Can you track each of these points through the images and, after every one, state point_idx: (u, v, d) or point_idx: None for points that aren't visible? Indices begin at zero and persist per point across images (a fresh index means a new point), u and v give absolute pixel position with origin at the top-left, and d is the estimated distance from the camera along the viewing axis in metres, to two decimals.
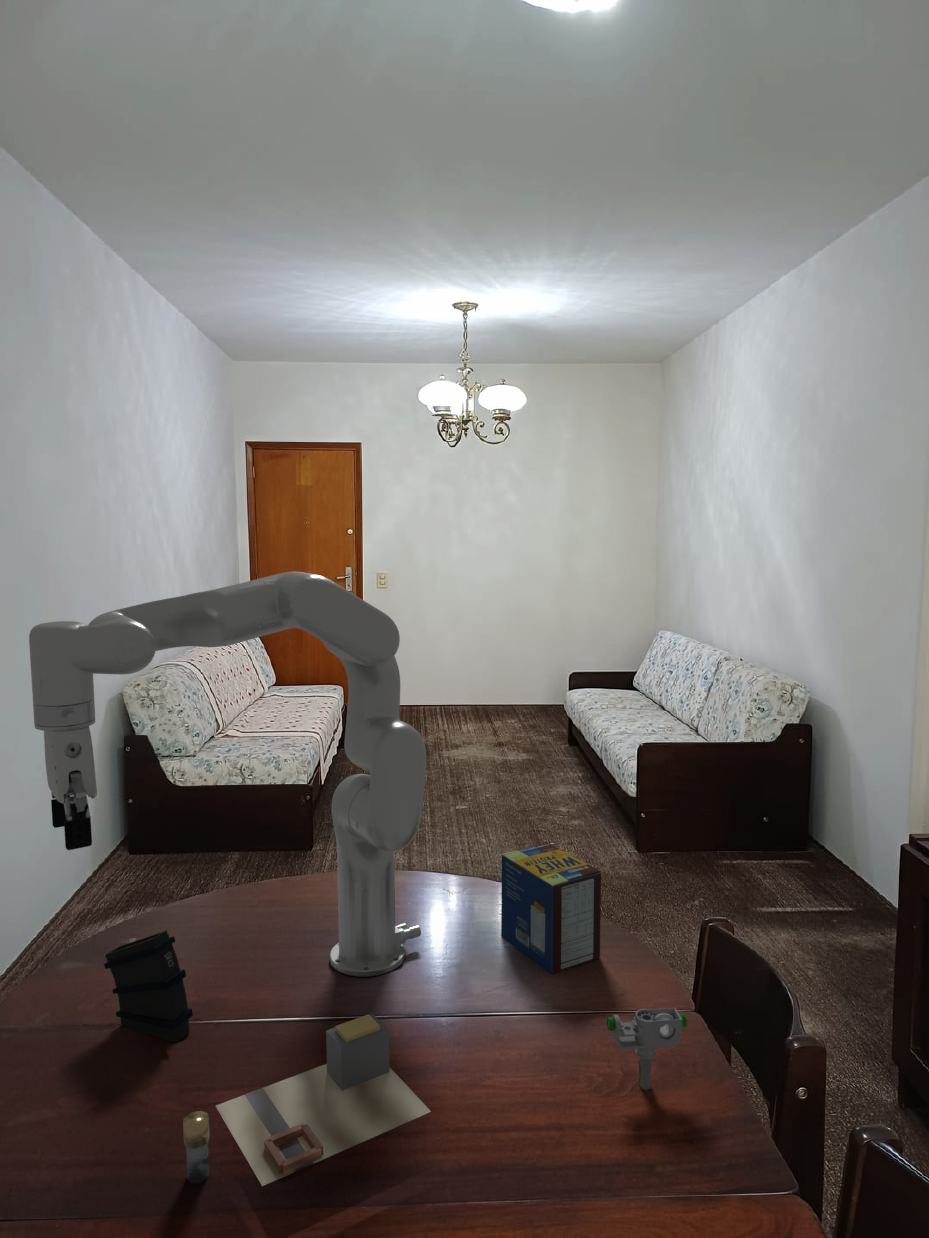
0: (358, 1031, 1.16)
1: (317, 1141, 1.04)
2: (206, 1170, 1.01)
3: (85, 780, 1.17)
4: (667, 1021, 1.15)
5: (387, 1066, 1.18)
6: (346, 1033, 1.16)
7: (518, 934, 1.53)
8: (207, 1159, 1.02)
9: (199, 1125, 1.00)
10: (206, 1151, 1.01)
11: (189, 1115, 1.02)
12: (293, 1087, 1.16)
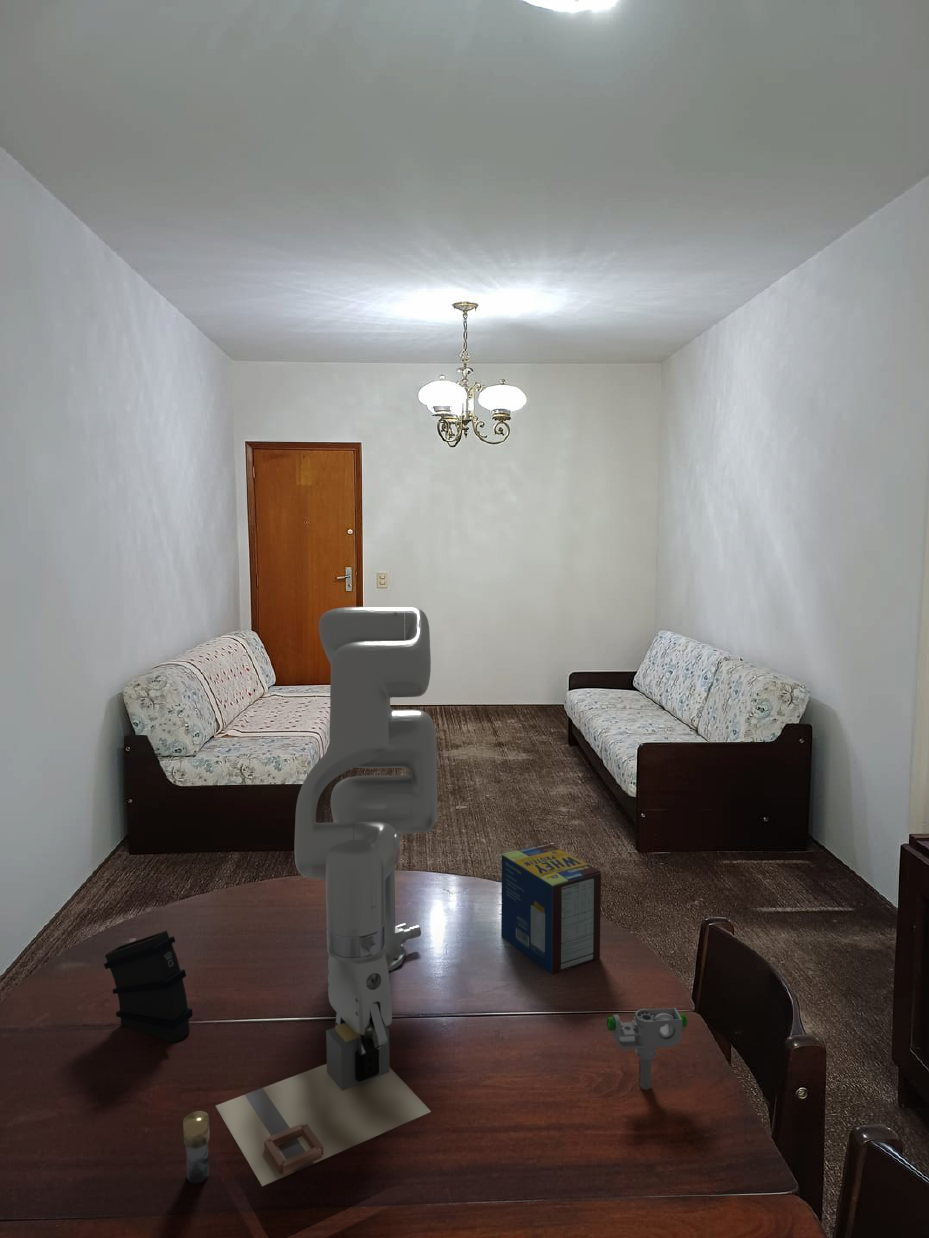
0: None
1: (317, 1141, 1.04)
2: (206, 1170, 1.01)
3: (384, 1010, 1.14)
4: (667, 1021, 1.15)
5: (387, 1066, 1.18)
6: (346, 1033, 1.16)
7: (518, 934, 1.53)
8: (207, 1159, 1.02)
9: (199, 1125, 1.00)
10: (206, 1151, 1.01)
11: (189, 1115, 1.02)
12: (293, 1087, 1.16)
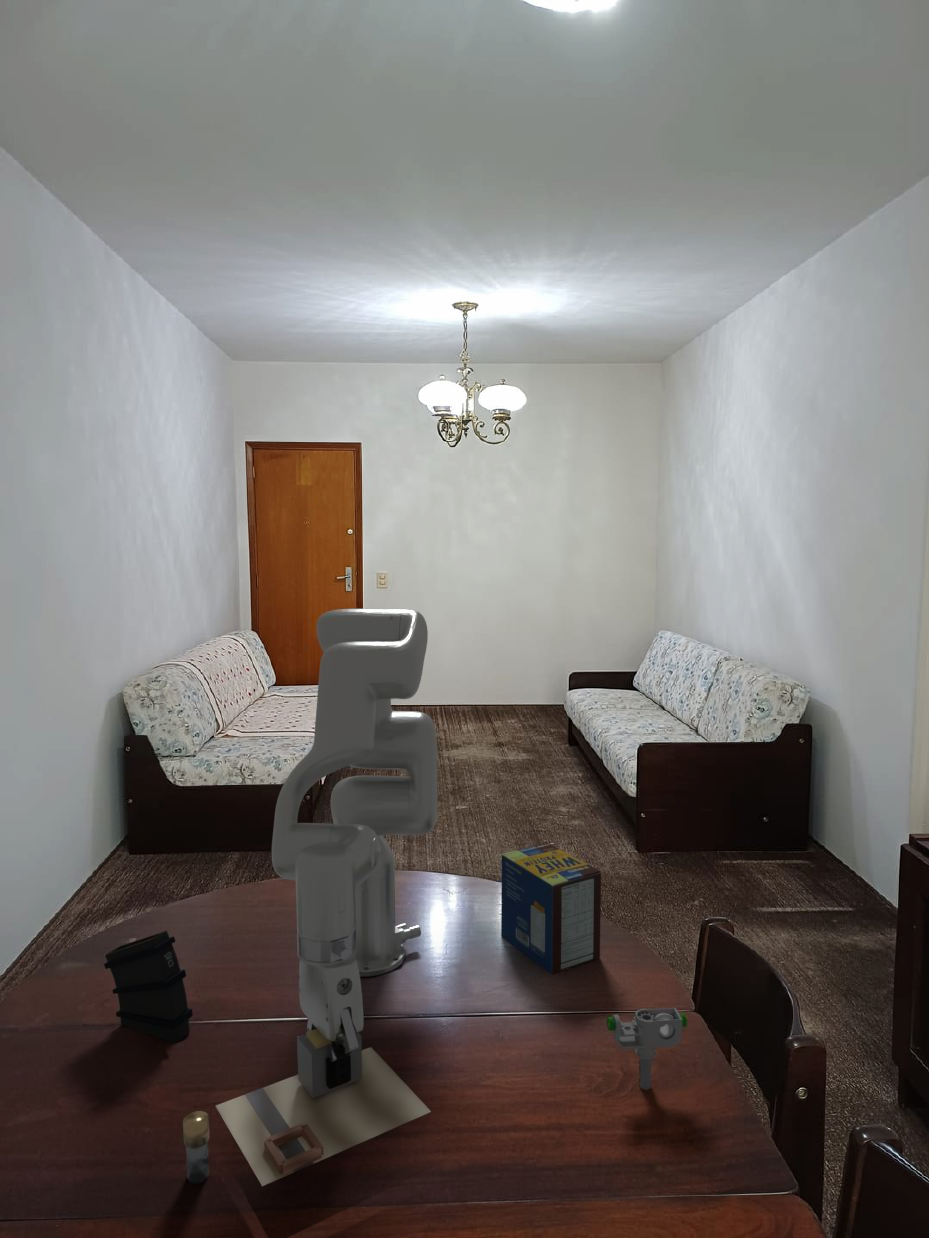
0: None
1: (317, 1141, 1.04)
2: (206, 1170, 1.01)
3: (355, 1016, 1.11)
4: (667, 1021, 1.15)
5: (359, 1073, 1.16)
6: (317, 1039, 1.14)
7: (518, 934, 1.53)
8: (207, 1159, 1.02)
9: (199, 1125, 1.00)
10: (206, 1151, 1.01)
11: (189, 1115, 1.02)
12: (293, 1087, 1.16)
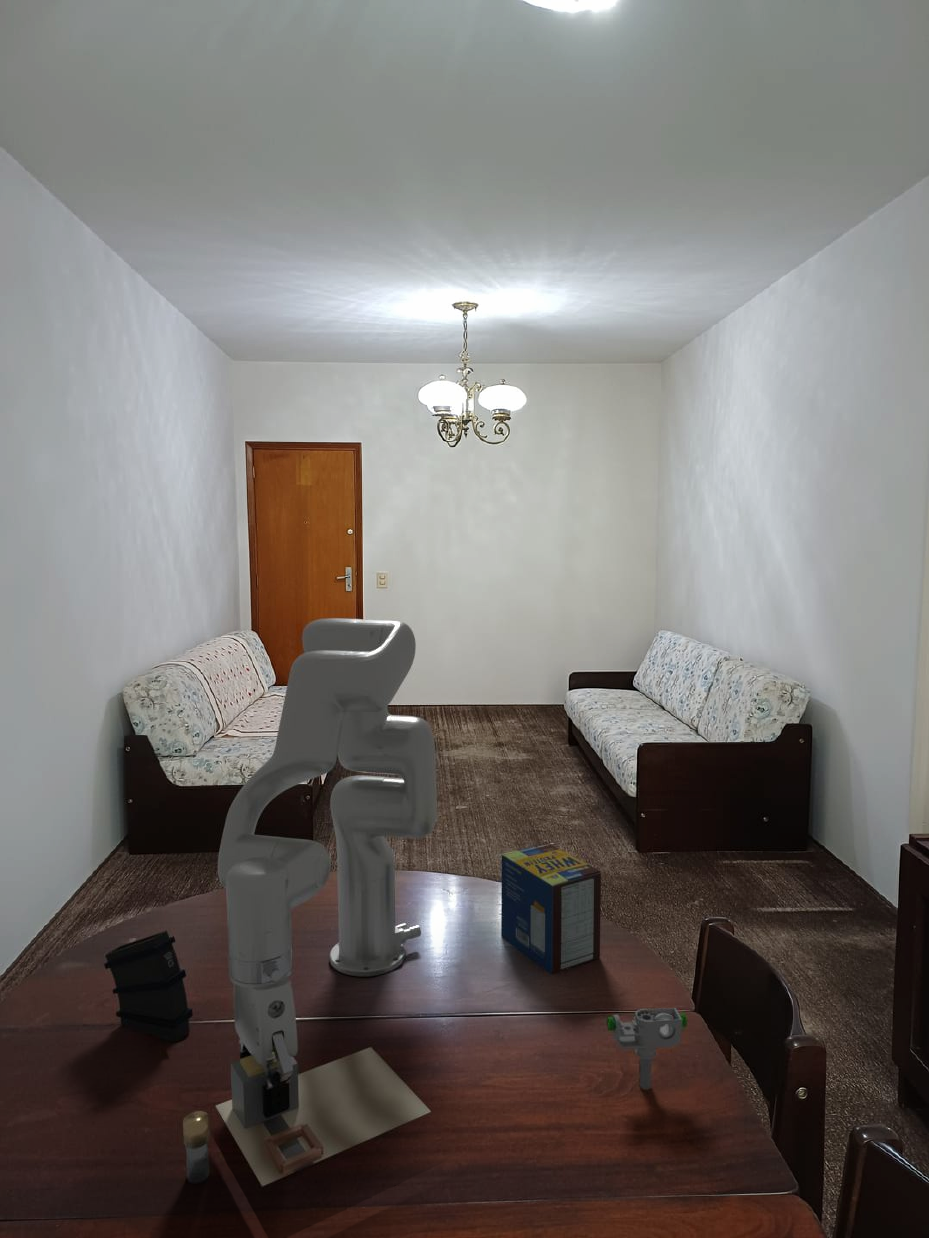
0: None
1: (317, 1141, 1.04)
2: (206, 1170, 1.01)
3: (288, 1040, 1.07)
4: (667, 1021, 1.15)
5: (296, 1102, 1.11)
6: (250, 1067, 1.09)
7: (518, 934, 1.53)
8: (207, 1159, 1.02)
9: (199, 1126, 1.00)
10: (206, 1151, 1.01)
11: (189, 1115, 1.02)
12: None
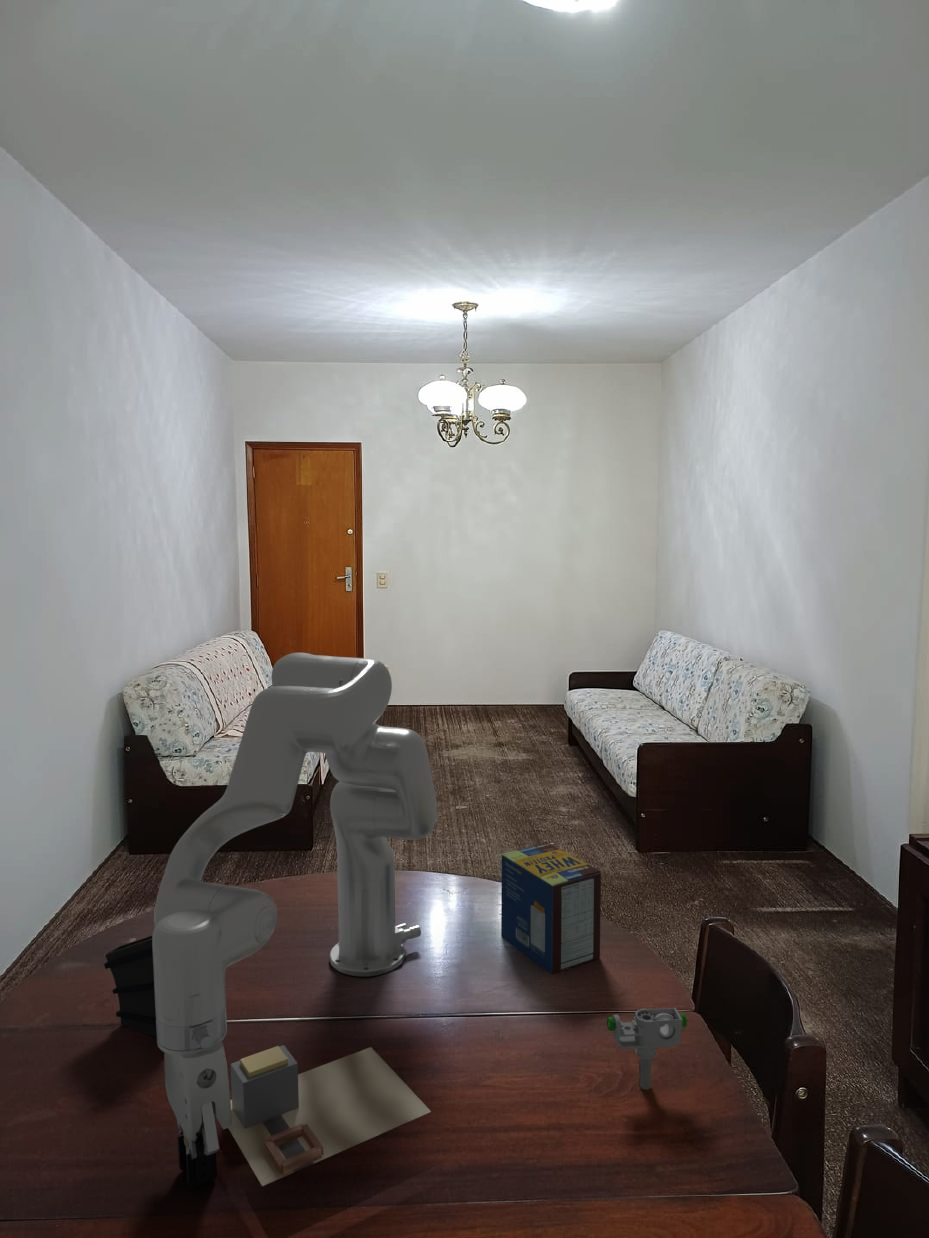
0: (263, 1065, 1.09)
1: (317, 1141, 1.04)
2: None
3: (220, 1112, 0.97)
4: (667, 1021, 1.15)
5: (296, 1102, 1.11)
6: (250, 1067, 1.09)
7: (518, 934, 1.53)
8: None
9: None
10: None
11: None
12: None
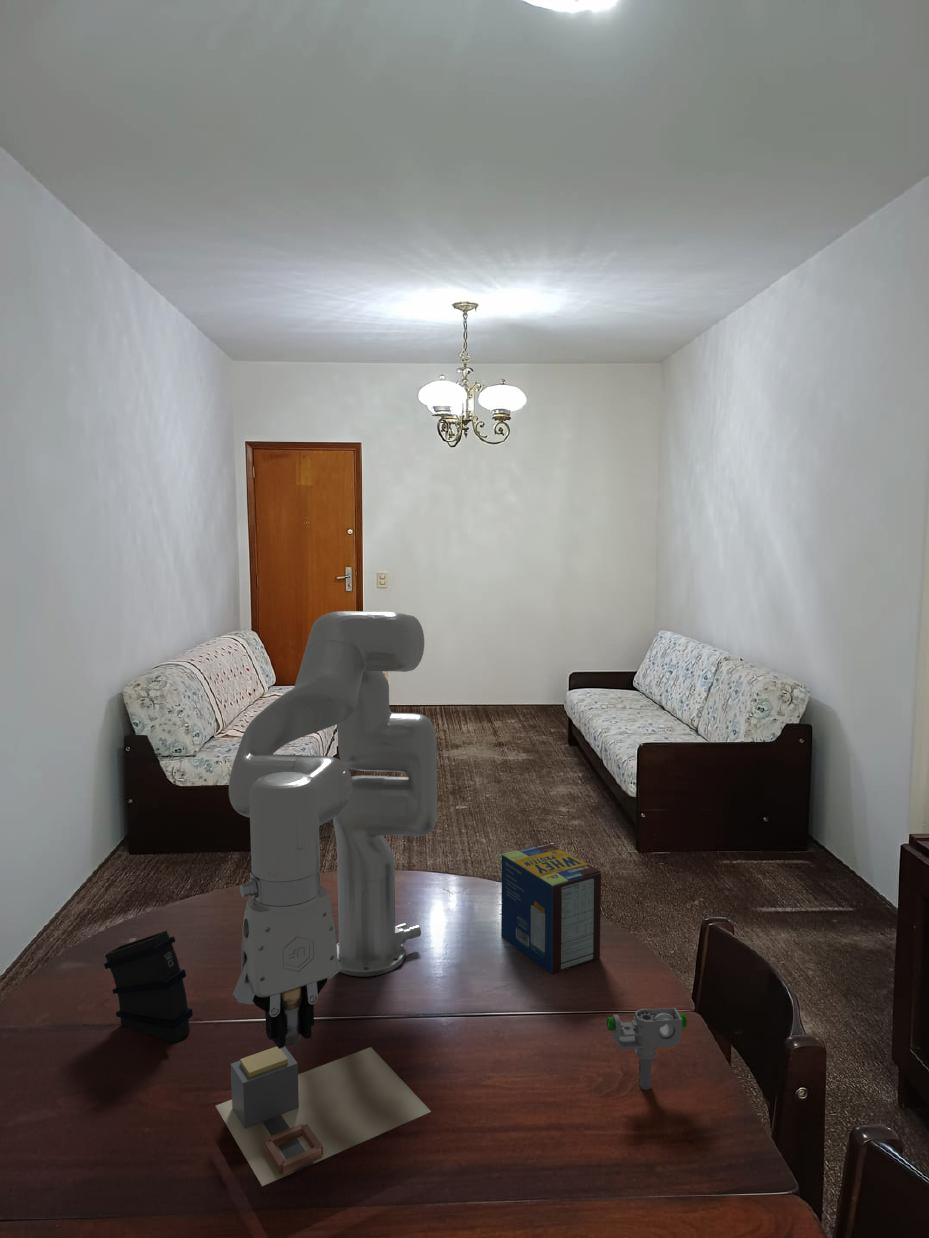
0: (263, 1065, 1.09)
1: (317, 1141, 1.04)
2: None
3: (248, 970, 0.97)
4: (667, 1021, 1.15)
5: (296, 1102, 1.11)
6: (250, 1067, 1.09)
7: (518, 934, 1.53)
8: (285, 1028, 1.01)
9: None
10: None
11: None
12: None
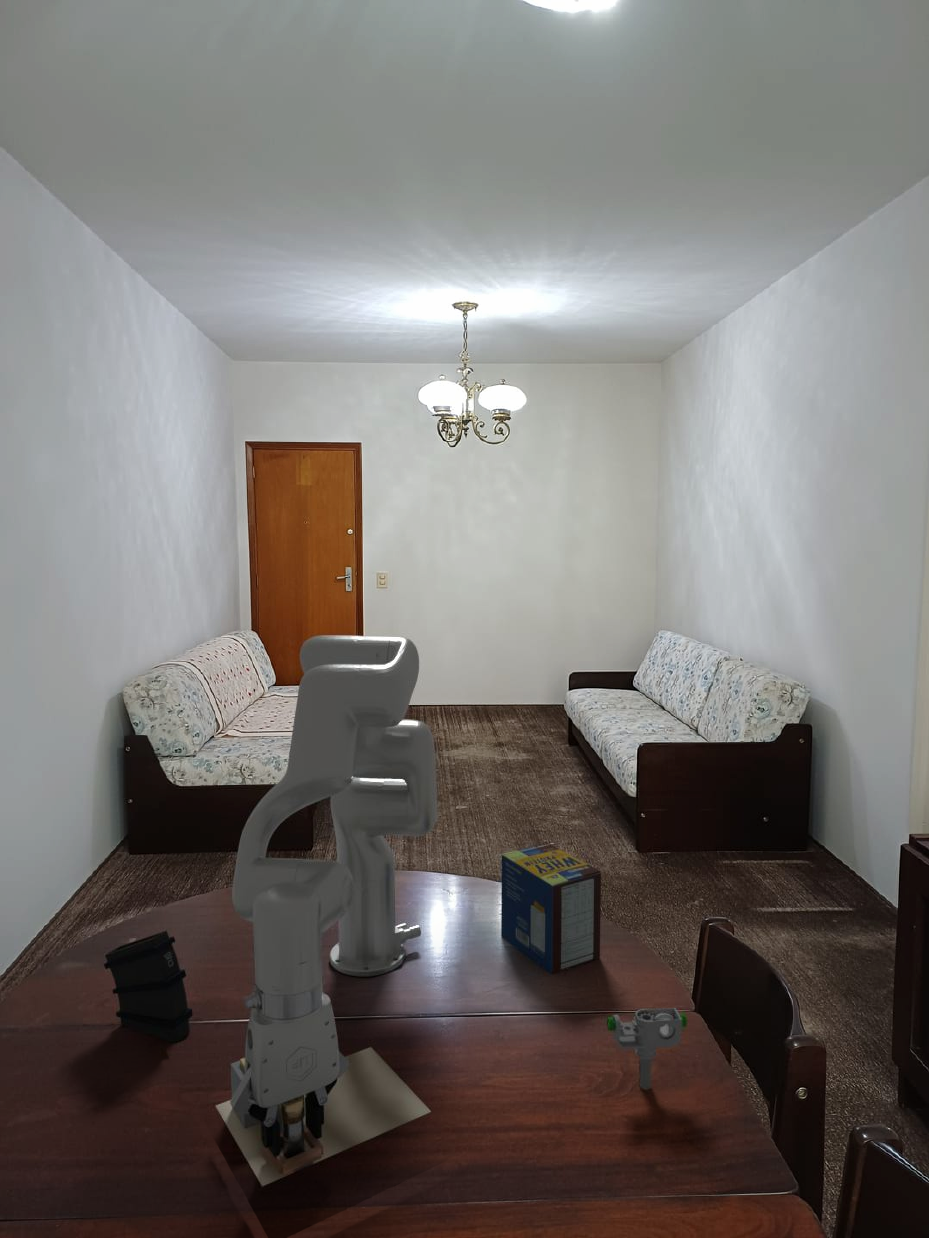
0: None
1: (317, 1141, 1.04)
2: (288, 1150, 1.03)
3: (252, 1081, 0.99)
4: (667, 1021, 1.15)
5: None
6: None
7: (518, 934, 1.53)
8: (289, 1141, 1.03)
9: None
10: (288, 1132, 1.03)
11: None
12: None
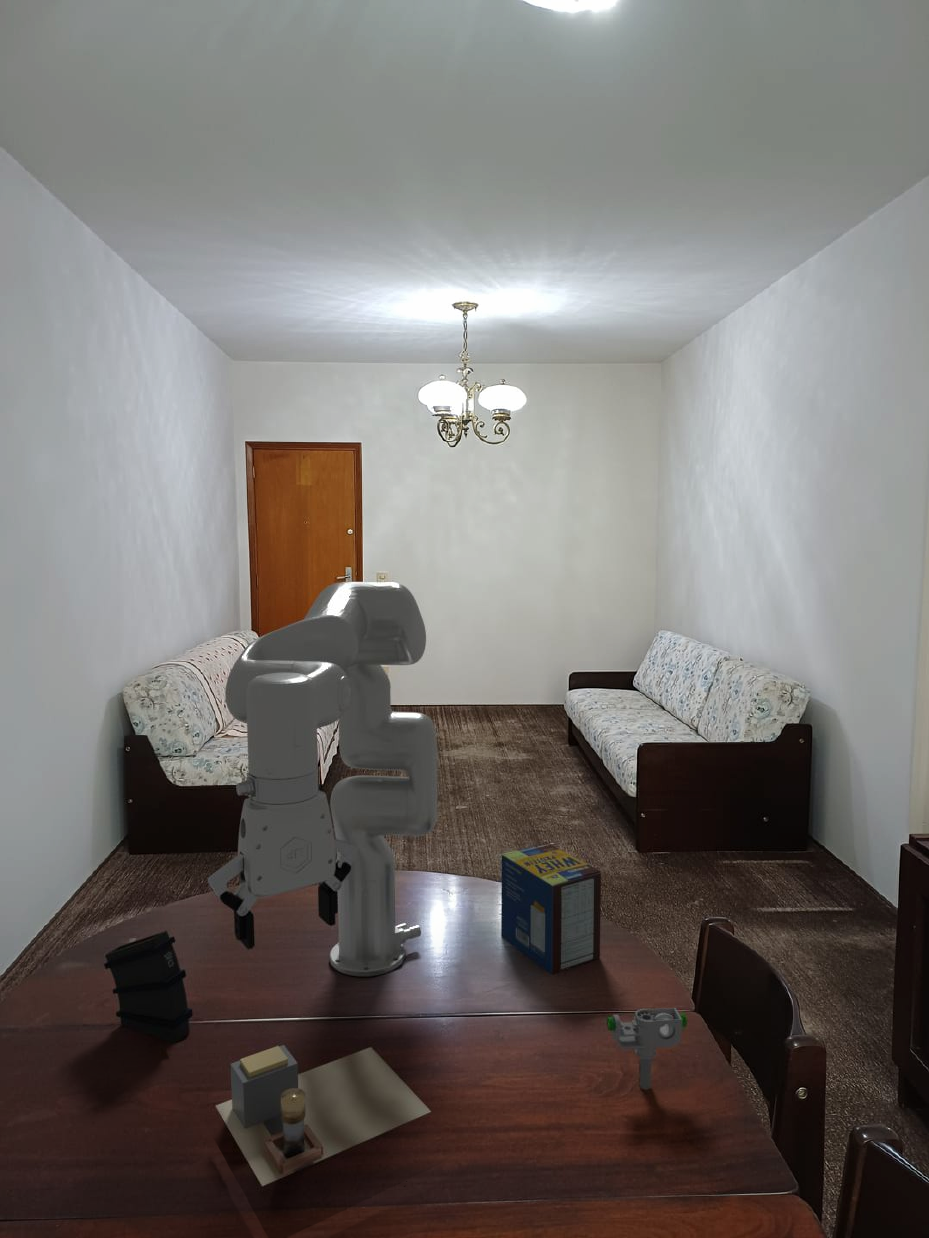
0: (263, 1065, 1.09)
1: (317, 1141, 1.04)
2: (288, 1149, 1.03)
3: (245, 870, 0.96)
4: (667, 1021, 1.15)
5: None
6: (250, 1067, 1.09)
7: (518, 934, 1.53)
8: (290, 1141, 1.03)
9: (282, 1099, 1.03)
10: (289, 1132, 1.03)
11: (299, 1090, 1.04)
12: None
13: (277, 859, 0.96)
